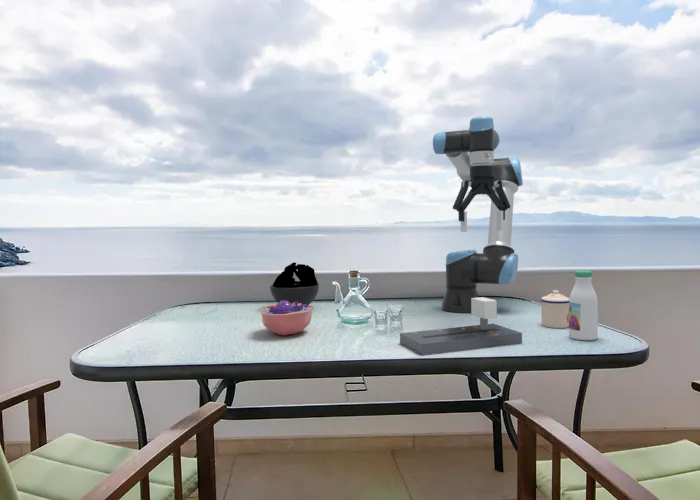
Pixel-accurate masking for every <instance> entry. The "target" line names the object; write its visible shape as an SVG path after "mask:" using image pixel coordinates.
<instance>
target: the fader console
mask: <svg viewBox="0 0 700 500" xmlns="http://www.w3.org/2000/svg"><path fill="white" fill-rule="evenodd" d="M400 343H401V344H400ZM399 344H400V345H402V344H403V345H402V346H404V345H405V346H404V347H406V346H407V347H409V348H411V349H412V350H411V349H410V350H411V351H413V350H414V351H413V352H415V351H416V352H417V353H416V352H415V353H416V354H418V353H419V354H418V355H420V354H421V355H420V356H425V355H424V354H428V355H433V354H432V353H437V354H444V353H443V352H445V353H452V352H451V351H453V352H460V351H459V350H462V351H469V350H478V349H485V348H494V347H495V348H496V347H503V346H510V345H511V344H512V345H517V344H523V333H522V332H520V331H517V330H514V329H511V328H508V327H505V326H501V325H499V324H496V323H488V329H485V330H483V329H480V324H478V325H477V324H476V325H467V326H466V325H465V326H459V327H458V326H455V327H448V328H447V327H446V328H438V329H428V330H418V331H410V332H407V331H406V332H400V333H399ZM502 345H503V346H502ZM407 347H406V348H407ZM409 348H408V349H409ZM477 348H478V349H477Z"/></svg>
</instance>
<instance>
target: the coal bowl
mask: <svg viewBox="0 0 700 500" xmlns="http://www.w3.org/2000/svg"><path fill="white" fill-rule="evenodd" d="M315 273H316V271H315V269H314V268H313V267H311V266H309V265H308V264H303V263H302V264H301V263H297V262H295V261H294V262H292V263H290V264H288V265H287V266H285V267H284V269H283V271H281V273H279V274H278V275H277V277H276V278H275V279H274V281H273V283H272V284H271V285H270V286H269V289H270V293H271V295H272V297H273V299H274V300H275V302H276V304H277V303H279V302H280V301H288V302H290V303H291V304H292V303H295V301H298V303H299V304H300V303H301V304H308V305H309V306H310V304H311V303H312V302H313V301H314V300H315V299H316V298H317V295H318V292H319V289H320V283H319V282H318V279H317V277H316V274H315ZM294 276H296V277H297V279H298V281H297V280H296V278H295V277H294Z"/></svg>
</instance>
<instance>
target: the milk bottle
mask: <svg viewBox="0 0 700 500" xmlns="http://www.w3.org/2000/svg"><path fill="white" fill-rule="evenodd" d="M574 279H575V283H574V286H573V288H572V290H571V292H570V294H569V298H570V299H569V327H568V336H569V338H571V339H573V340H578V341H594V340H595V341H596V340H597V339H598V335H599V334H598V331H599V330H598V327H599V324H598V323H599V322H598V319H599V310H598V309H599V305H598V295H597V293H596V290H595V289H594V286H593V282H592V279H593V271H592V270H586V269H585V270H581V269H580V270H575V271H574Z"/></svg>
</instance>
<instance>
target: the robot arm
mask: <svg viewBox="0 0 700 500" xmlns="http://www.w3.org/2000/svg"><path fill="white" fill-rule="evenodd" d="M494 124H495V123H494V118H493V117H492V116H488V115H485V116H475V117H472V118H471V119H470V120H469V128H468V129H465V130H454V131H453V130H452V131H442V132H437V133H435V134H434V135H433V137H432V150H433V152H434V153H435V155H445V156H446V157H447V158H448V160H449V161H450V162H451V164H452V165H453V166H454V167H455V169H456V174H457V176H458V178H460V180H462V181H461V183H460V184H461V185H460V190H459V192H458V194H457V197H456V198H455V201H454V203H453V205H452V209H453V210H455V211H456V212H458V213H457V214H458V222H460V233H462V232H463V233H464V232H465V233H467V232H468V211H466V209H467V208H468V206H469V205H470V204H471V202H472V200H473V199H474V198H475V197H476V196H477V195H486V196H488V198H489V199H490V200H491V202H490V210H489V221H488V222H489V224H488V234H487V235H488V237H487V244H486V245H485V246H484V247H483V249H482V252H478V251H477V250H476V249H466V250H457V251H452V252H449V253H447V255H446V257H445V285H446V287H445V288H446V289H445V293H444V296H443V300H442V302H441V309H442V311H444V312H451V313H461V314H462V313H471V298H478V297H479V293H478V290H477V284H483V285H484V284H485V285H486V284H487V285H501V286H502V285H511V284H512V283H514V282H515V279H516V277H517V273H518V267H519V256H518V253H515V249H514V248H513V247H512V245H511V243H512V228H513V214H514V198H515V194H516V193H517V192H518V191H519V187H522V186H523V185H524V184H523V183H524V182H523V173H522V166H521V160H520V159H519V158H518V157H504V158H503V157H502V158H495V157H494V156H495V155H494V151H495V150H496V149H497V148H498V147H499V144H500V136H499V134H498V132H497V131H496V130H494V129H495V128H494V127H495V125H494ZM469 188H470V190H469ZM468 190H469V191H468ZM467 193H468V194H467ZM466 194H467V195H466Z"/></svg>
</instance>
